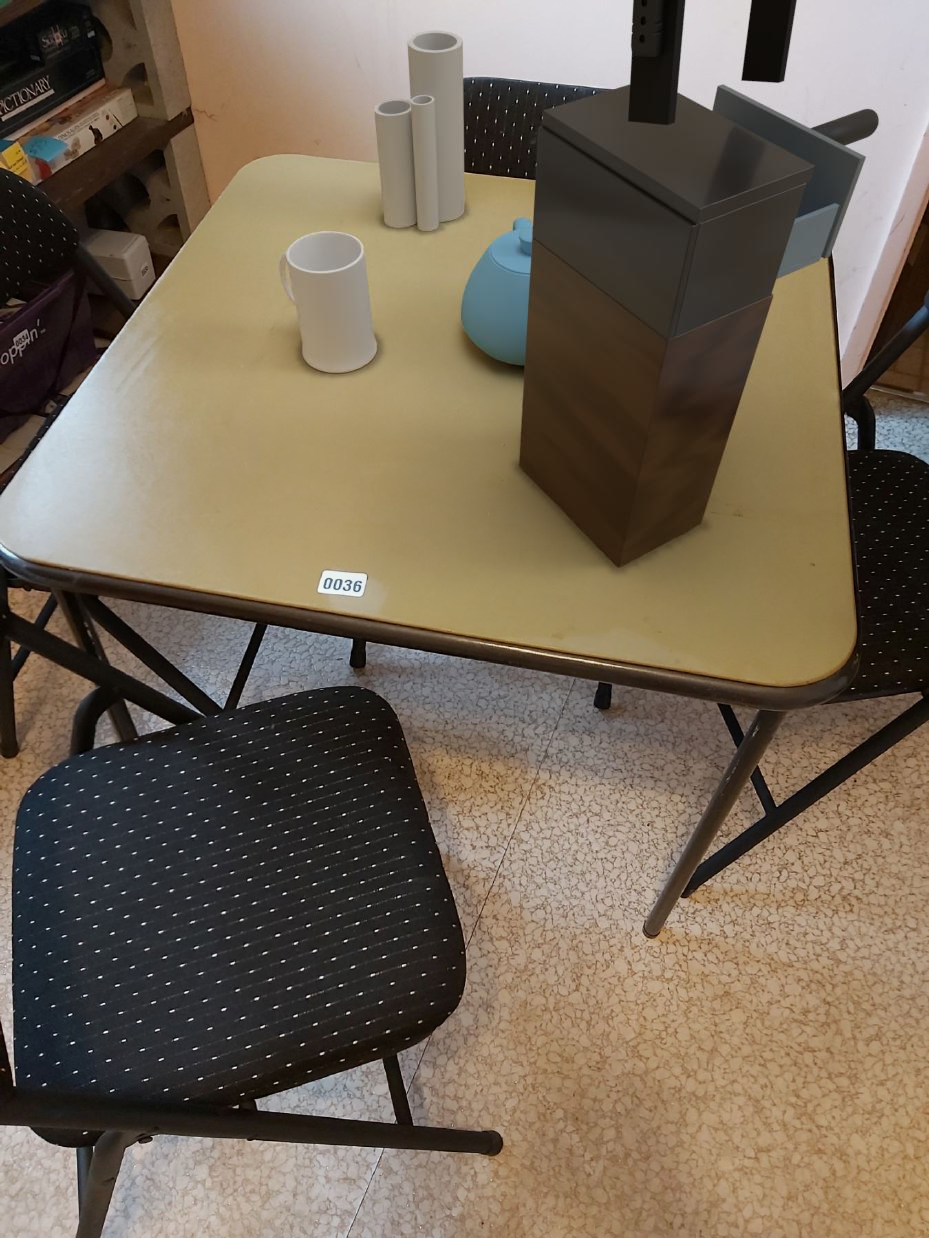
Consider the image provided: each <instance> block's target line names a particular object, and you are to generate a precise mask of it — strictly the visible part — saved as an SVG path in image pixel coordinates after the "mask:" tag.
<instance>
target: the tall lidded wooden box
mask: <svg viewBox="0 0 929 1238" xmlns="http://www.w3.org/2000/svg"><path fill="white" fill-rule="evenodd" d="M629 95H630V83H629V84H626V85H623V86H620V87H616V88H613V89H610V90H606V91H604V92H599V93H596V94H593V95H590V96H587V97H584V98H579V99H577V100H573V101H570V102H567V103H564V104H560V105H557V106H553V107H550V108H547V109H544V110H542V118H541V119H542V120H541V126H539V127H538V129H537V130H538V131H537V146H536V147H537V148H536V164H535V165H536V166H535V181H534V197H533V214H532V215H533V216H532V226H533V231H532V250H531V267H530V284H529V301H528V318H527V336H526V353H525V365H524V369H523V370H524V374H523V386H522V388H523V390H522V403H521V405H522V406H521V407H522V408H521V420H520V421H521V425H520V442H519V459H518V466H519V468H520V469H522V470H523V472H525V474H526V475H527V476H528V477H530V478H531V480H532V481H533V482H534V483H535V484H536V485H537V486H538V487H539V488H540V489H541V490H542V491H543V492H544V493H545V494H546V495H547V496H548V497H549V498H550V499H551V500H552V501H553V502H554V503H555V504H556V505H557V506H558V507H559V508H560V509H561V510H562V511H563V512H564V513H565V514H566V516H568V518H569V519H571V520H572V522H573V523H574V524H575V525H576V526H577V527H578V528H579V529H580V530H581V531H582V532H583V533H584V534H585V535H586V536H587V537H588V538H589V539H590V540H591V541H592V542H593V543H594V544H595V545H596V547H598V548H599V549H600V550H601V552H603V553H604V554H605V556H607V557H608V558H609V560H611V561H612V563H614V564H615V565H616V567H618V568H622V566H624V565H626V564H629V563H630V562H632V561H634V560H636V559H637V558H640V557H641V556H644V555H645V554H647V553H649V552H651V551H652V550H655V549H657V548H658V547H660V546H662V545H664V544H666V543H668V542H670V541H671V540H673V539H675V538H678V537H679V536H681V535H683V534H684V533H686V532H689V531H690V530H692V529H694V528H696V527H697V526H699V525H701V524H702V522H703V519H704V516H705V513H706V510H707V507H708V503H709V500H710V497H711V494H712V491H713V487H714V484H715V482H716V479H717V475H718V473H719V469H720V466H721V462H722V460H723V456H724V453H725V450H726V447H727V444H728V441H729V437H730V434H731V432H732V428H733V425H734V422H735V419H736V415H737V412H738V409H739V406H740V403H741V400H742V396H743V393H744V390H745V387H746V385H747V381H748V377H749V374H750V371H751V368H752V364H753V362H754V359H755V355H756V352H757V349H758V347H759V344H760V341H761V340H760V339H761V337H762V334H763V330H764V328H765V324H766V321H767V318H768V314H769V312H770V308H771V305H772V302H773V300H774V296H775V295H774V294H773V290H774V287H775V284H776V281H777V279H776V278H777V275H778V272H779V269H780V266H781V263H782V259H783V256H784V253H785V250H786V247H787V243H788V240H789V237H790V234H791V231H792V228H793V224H794V221H795V218H796V215H797V212H798V209H799V205H800V202H801V199H802V196H803V193H804V190H805V186H806V183H807V182H809V181H810V180H811V177H812V174H813V171H814V167H815V166H814V165H812V164H811V163H809V162H807V161H805V160H803V159H801V158H799V157H798V156H796V155H794V154H792V153H790V152H788V151H786V150H784V149H783V148H781V147H779V146H777V145H775V144H773V143H771V142H769V141H768V140H766V139H764V138H762V137H760V136H758V135H756V134H755V133H753V132H751V131H749V130H747V129H745V128H743V127H741V126H740V125H738V124H736V123H734V122H732V121H730V120H728V119H727V118H725V117H723V116H721V115H719V114H717V113H715V112H713V111H712V110H713V109H712V110H711V109H710V108H708V107H706V106H704V105H703V104H700V103H698V102H696V101H695V100H693V99H691V98H689V97H688V96H685V95H683V94H681V92H678V93H677V104H676V116H675V123H672V124H670V125H661V124H650V123H640V122H630V121H628V113H629Z"/></svg>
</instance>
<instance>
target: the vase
mask: <svg viewBox="0 0 929 1238" xmlns="http://www.w3.org/2000/svg"><path fill="white" fill-rule="evenodd" d="M463 42H464V41H463V38H462V37H461V36H460V35H458V34H456V33H453V32H449V31H446V30H426V31H421V32H417V33H415V34H412V35H411V36H410V37H409V38H408V39H407V57H408V59H407V61H408V76H409V77H408V78H409V95H410V100H408V99H403V98H394V99H393V98H391V99H387V100H384V101H381V102H379V103H377V104H375V106H374V108H373V110H374V111H373V112H374V121H375V123H374V124H375V135H376V145H377V156H378V167H379V177H380V178H379V179H380V188H381V189H380V190H381V201H382V210H383V222H384V224H385V225H386V226H387V227H390V228H394V229H404V228H408V227H411V226H414V225H415V224H417V229H418V230H419V231H422V232H433V231H435V230H437V229H438V228H439V226H440V223H444V222H446V223H447V222H451V221H455V220H457V219H459V218H461V217H462V215H463V214H464V213H465V207H466V206H465V129H464V127H465V123H464V122H465V121H464V119H465V118H464V43H463Z"/></svg>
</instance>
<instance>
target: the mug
mask: <svg viewBox="0 0 929 1238" xmlns="http://www.w3.org/2000/svg"><path fill="white" fill-rule="evenodd" d="M278 265H279V266H278V272H279V277H280V282H281V284H282V287H283V289H284V291H285V293H286V295H287V297H288V298H289V300H290V302H292V304H293V306H294V307H295V310H296V316H297V321H298V325H299V331H300V336H301V337H300V338H301V342H302V347H301V351H302V352H301V354H302V357H303V359H304V361H305V362H306V363H307V365H309V366H310V367H312V368H313V369H315V370H317V371H321V372H324V373H331V374H342V373H343V374H344V373H349V372H353V371H356V370H358V369H361V368H363V367H364V366H366V365H368V364H369V363H370V362H371V361H372V360H373V359H374V358H375V356H376V355H377V354H376V353H377V352H378V342H377V339H376V337H375V331H374V324H373V316H372V306H371V298H370V288H369V281H368V272H367V263H366V254H365V247H364V245H363V242H362V241H361V240H360V239H359V238H357V237H356V236H354V235H352V234H350V233H346V232H342V231H336V230H335V231H334V230H324V231H315V232H312V233H308V234H305V235H303V236H300V237H299V238H297V239H295V240H294V241H293V242H291V244H290V245H289V246H288V247H287V249H286V250H285V251H284V252H283V254H282V255H281V256H280V259H279V264H278ZM286 265H287V270H288V274H289V279H290V282H289V279H288V276H287V270H286Z"/></svg>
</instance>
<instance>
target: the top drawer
mask: <svg viewBox="0 0 929 1238" xmlns="http://www.w3.org/2000/svg"><path fill="white" fill-rule="evenodd" d="M712 111H713V112H715V113H717V114H719V115H721V116H723V117H725V118H727V119H728V120H730V121H732V122H734V123H736V124H738V125H740V126H741V127H743V128H745V129H747V130H749V131H751V132H753V133H755V134H756V135H758V136H760V137H762V138H764V139H766V140H768V141H769V142H771V143H773V144H775V145H777V146H779V147H781V148H783V149H784V150H786V151H788V152H790V153H792V154H794V155H796V156H798V157H799V158H801V159H803V160H805V161H807V162H809V163H811V164H812V165H814V166H815V167H814V171H813V174H812V177H811V180H810V181H809V182H807V183H806V186H805V190H804V193H803V196H802V199H801V202H800V205H799V209H798V212H797V215H796V218H795V221H794V224H793V228H792V231H791V234H790V237H789V240H788V243H787V247H786V250H785V253H784V256H783V259H782V263H781V266H780V269H779V272H778V275H777V278H776V280H778V279H781V278H783V277H786V276H787V275H791V274H792V273H796V272H797V271H800V270H801V269H804V268H806V267H808V266H812V265H814V264H816V263H818V262H820V261H821V258H822V259H825V260H826V259H827V258H830V257H831V255H832V252H833V249H834V247H835V244H836V241H837V239H838V236H839V233H840V231H841V228H842V224H843V222H844V219H845V216H846V214H847V211H848V207H849V205H850V203H851V200H852V197H853V194H854V191H855V188H856V187H857V186H856V185H857V183H858V181H859V178H860V175H861V172H862V169H863V166H864V164H865V161H866V158H867V156H866V155H863V154H862V153H860V152H858V151H856V150H855V149H852V148H850V147H848V145H851V144H853V143H856V142H859V141H861V140H864V139H867V138H869V137H870V136H871V137H872V135H873V134H874V133H875V132H876V130H877V129H878V126H879V123H880V119H879V115H878V113H877V112H876V110H874V109H872V108H864V109H861V110H858V111H855V112H852V113H849V114H847V115H844V116H841V117H838V118H835V119H832V120H829V121H827V122H823V123H821V124H818V125H816V126H812V127H809V126H806V125H805V124H803V123H801V122H798V121H796V120H795V119H793V118H791V117H789V116H786V115H785V114H783V113H781V112H779V111H777V110H775V109H773V108H771V107H769V106H767V105H765V104H763V103H761V102H759V101H757V100H755V99H753V98H751V97H749V96H748V95H746V94H743V93H741V92H740V91H737V90H735V89H733V88H731V87H729V86H728V85H726V84H724V83H722V84H719V85H717V86H716V92H715V96H714V101H713V106H712Z"/></svg>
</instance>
